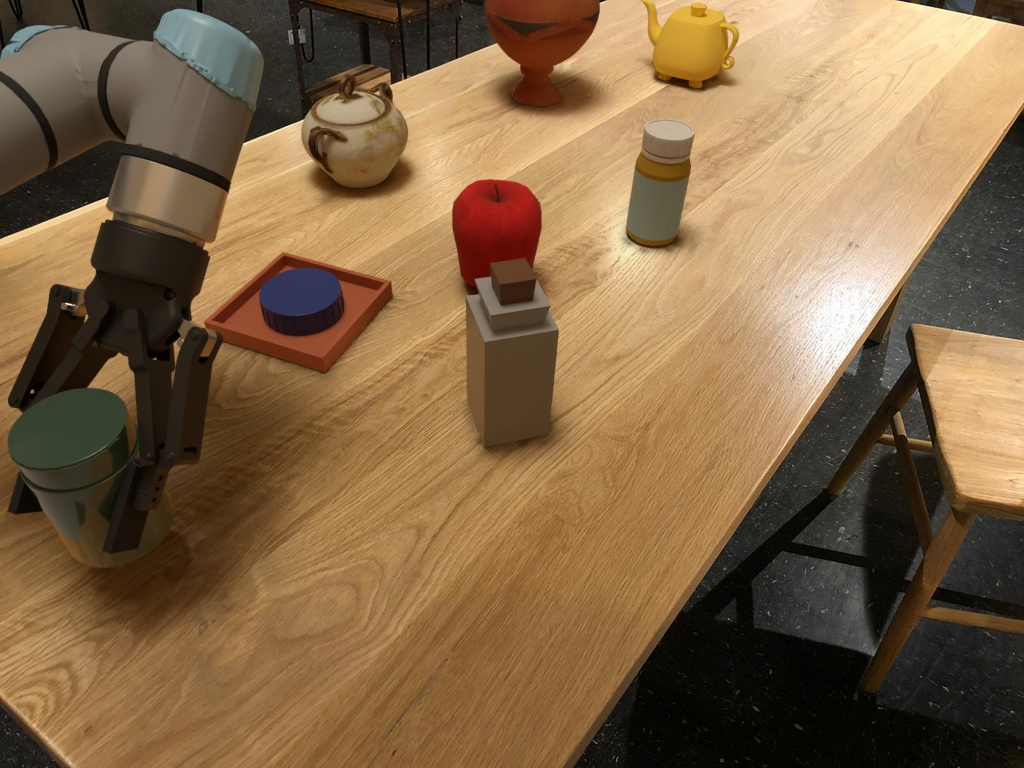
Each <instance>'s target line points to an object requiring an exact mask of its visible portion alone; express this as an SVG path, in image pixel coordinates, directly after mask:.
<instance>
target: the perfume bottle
mask: <svg viewBox="0 0 1024 768" xmlns="http://www.w3.org/2000/svg"><path fill="white" fill-rule="evenodd" d="M490 272H491V277H485V278H479V279H475V282H476V286H477V288H476V290H477V293H478V294H477V293H476V294H470V295H469V294H468V295H465V335H466V336H465V340H466V341H465V342H466V343H465V345H466V348H465V349H466V402H467V404H468V407H469V410H470V414H471V416H472V419H473V421H474V424H475V426H476V430H477V432H478V434H479V438H480V441H481V443H482V446H483V448H487V447H493V446H498V445H503V444H509V443H513V442H518V441H523V440H528V439H532V438H538V437H543V436H548V435H550V431H551V420H552V419H551V418H552V407H553V398H554V397H553V396H554V389H555V388H554V387H555V378H556V377H555V376H556V364H557V355H558V345H559V335H560V328H559V327H558V325H557V323H556V321H555V319H554V317H553V316H552V313H551V311H550V309H551V307H552V305H551V303H550V301H549V299H548V297H547V295H546V294H545V292H544V290H543V288H542V286H541V285H540V282H539V281H538V279H537V277H536V275H535V273H534V271H533V268H532V269H531V268H530V266H529V264H528V262H527V260H526V258H522V259H515V260H508V261H501V262H494V263H490Z"/></svg>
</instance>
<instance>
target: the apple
mask: <svg viewBox="0 0 1024 768" xmlns="http://www.w3.org/2000/svg"><path fill="white" fill-rule="evenodd" d="M542 215H543V212H542V206H541V201H539V199H538V198H537V197H536V195H535V194H534V193H533V192H532V190H531V189H530V188H529V187H528V186H526V185H524V184H522V183H520V182H517V181H513V180H512V181H511V180H504V179H494V178H488V179H479V180H475V181H473V182H471V183H469V184H468V185H467V186H465V187H464V189H463V190H462V191H460V193H459V194H458V195H457V197H456V198H455V199H454V200H453V203H452V209H451V229H452V233H453V238H454V243H455V247H456V253H457V258H458V264H459V272H460V276H461V278H463V280H464V282H466V284H468V285H470V286H472V287H474V288H475V289H477V286H476V282H475V279H479V278H485V277H491V272H490V263H494V262H501V261H508V260H515V259H522V258H526V260H527V262H528V264H529V266H530V268H531V269H532V270H533V268H534V263H535V260H536V255H537V251H538V248H539V247H538V246H539V243H540V238H541V233H542V230H543V229H542V228H543V222H542V221H543V220H542V219H543V217H542Z"/></svg>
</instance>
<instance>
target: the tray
mask: <svg viewBox="0 0 1024 768" xmlns="http://www.w3.org/2000/svg"><path fill="white" fill-rule="evenodd" d="M298 268H315V269H320V270H324V271H327V272H329V273H331V274H332V275H334V276H335V277H336V278H337V279H338V280H339V282H340V285H341V290H342V292H343V298H344V312H343V314H342V316H341V318H340V319H339V320H338V322H336V323H335V324H334V325H333V326H331V327H330V328H328V329H326V330H324V331H321V332H319V333H315V334H311V335H304V336H291V335H285V334H281V333H279V332H276V331H274V330H273V329H271V328H270V327H269V326H268V325H267V324H266V322H265V321H264V317H263V315H262V310H261V306H260V302H259V301H260V300H259V292H260V289H261V287H262V286H263V284H264V283H265V282H266V281H267V280H269V279H270V278H272V277H273V276H275V275H277V274H279V273H281V272H284V271H287V270H292V269H298ZM393 295H394V293H393V285H392V281H391V280H388V279H385V278H381V277H377V276H373V275H369V274H366V273H362V272H359V271H355V270H351V269H347V268H345V267H340V266H337V265H333V264H329V263H325V262H321V261H318V260H314V259H311V258H308V257H303V256H299V255H295V254H293V253H288V252H285V251H282V252H281V253H280V254H278V255H277V256H276V257H275V258H274V259H272V261H271V262H270V263H268V264H267V265H266V266H265V267H264V268H262V269H261V270H260V271H259V272H258V273H257V274H256V275H254V276H253V277H252V278H251V279H250V280H249V281H248V282H247V283H246V284H244V285H243V286H242V287H241V288H240V289H239V290H237V292H235V294H233V295H232V296H231V297H230V298H229V299H228V300H226V301H225V303H223V304H222V305H221V306H219V308H218V309H217V310H215V311H214V312H213V313H212V314H210V315H209V317H207V318H206V319H205V320H204V321H203V324H204V328H206V329H211V330H215V331H219V332H220V333H222V335H223V342H226V343H227V344H228V343H229V344H232V345H236V346H238V347H241V348H243V349H247V350H251V351H255V352H258V353H260V354H261V353H262V354H264V355H267V356H270V357H273V358H277V359H280V360H284V361H286V362H289V363H293V364H296V365H299V366H303V367H306V368H309V369H313V370H316V371H319V372H322V373H327V372H328V370H329V369H330V368H331V367H332V366H333V365H334V363H336V361H337V360H338V359H339V358H340V357H341V355H342V354H343V353H344V352H345V351H346V349H348V347H349V346H350V345H351V344H352V343H353V342H354V340H355V339H356V338H357V337H358V336H359V335H360V334H361V332H362V331H363V330H364V329H365V328H366V327H367V325H369V323H370V322H371V321H372V320H373V319H374V317H375V316H377V314H378V313H379V312H380V310H381V309H382V308H383V307H384V306H385V305H386V303H387V302H389V300H390V299H391V298H392V297H393Z"/></svg>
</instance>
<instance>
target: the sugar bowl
mask: <svg viewBox="0 0 1024 768" xmlns="http://www.w3.org/2000/svg"><path fill="white" fill-rule="evenodd" d="M357 84H358V83H357V78H356V76H354V75H352V74H349V73H347V74H345V75H343V76H342V78H341V80H340V82H339V85H338V92H337V93H336V92H335V93H332V94H329V95H327V96H324V97H322V98H320V99H318V100H317V101H316V102H315V103H314V104H313V105H312V106H311V109H309V111H308V112H307V114H306V115H305V116H304V119H303V121H302V125H301V129H300V130H301V132H300V137H301V142H302V145H303V148H304V149H305V151H306V153H307V155H308V156H309V157H310V158H311V160H313V162H314V163H315V164H316V165H317V166H318V167H319V169H321V170H323V172H325V173H326V174H327V175H328V176H330V178H331V179H333V180H334V182H336V184H339V186H340V185H341V186H342V187H346V188H351V189H366V188H369V187H373V186H377V185H379V184H381V183H383V182H384V181H385V180H386V179H387V178H388V177H389V175H390V173H391V172H392V171H393V168H395V166H396V165H397V163H398V162H399V160H400V159H401V156H402V155H403V154H404V151H405V149H406V147H407V144H408V140H409V139H408V138H409V128H408V124H407V121H406V118H405V117H404V115H403V113H402V112H401V110H400V109H399V108H397V107H396V106H395V104H394V102H393V100H394V94H393V90H392V87H391V86H390V85H389V84H388V83H386V82H383V81H381V82H379V83H377V84H375V86H373V87H371V88H370V89H368V90H367V91H355V90H356V86H357ZM378 93H379V94H378Z"/></svg>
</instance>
